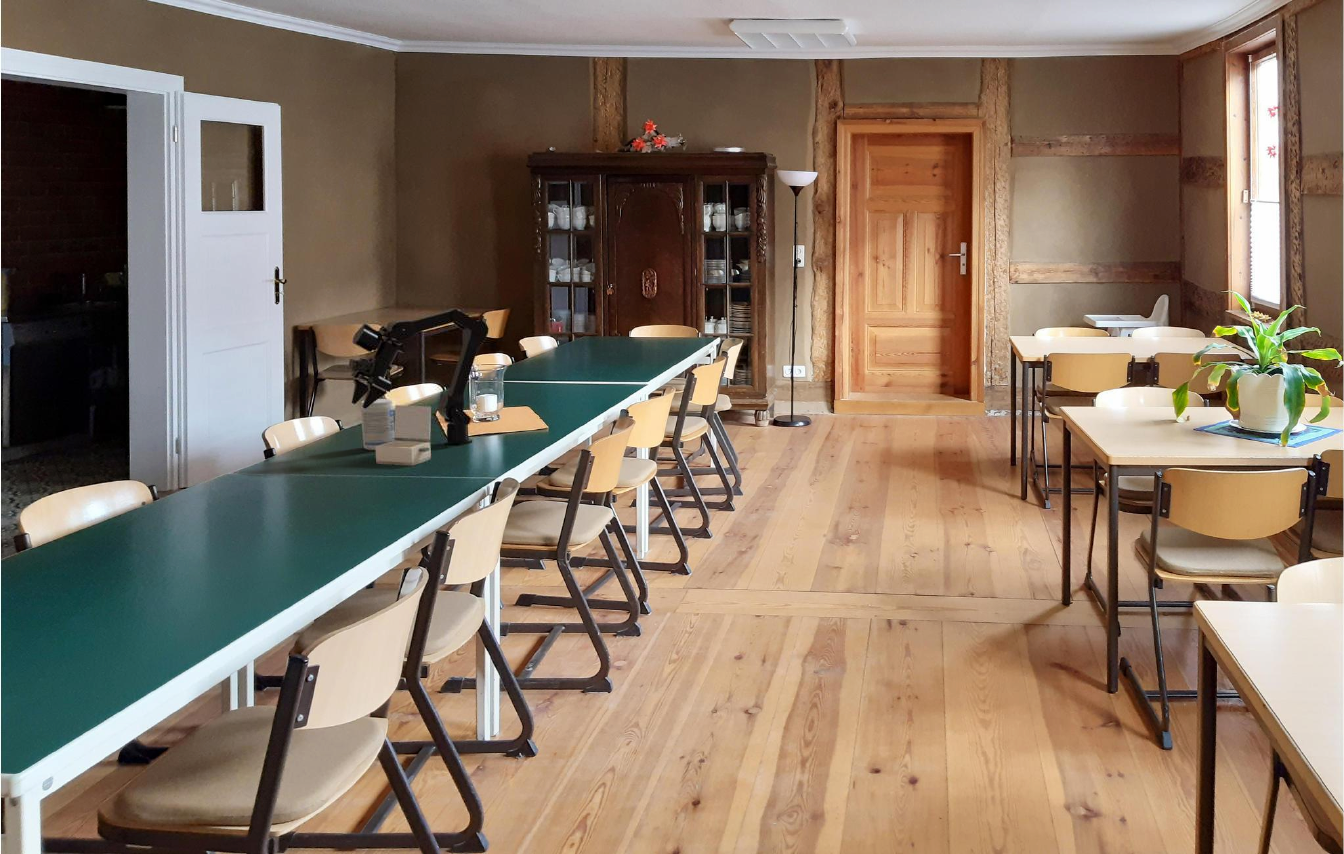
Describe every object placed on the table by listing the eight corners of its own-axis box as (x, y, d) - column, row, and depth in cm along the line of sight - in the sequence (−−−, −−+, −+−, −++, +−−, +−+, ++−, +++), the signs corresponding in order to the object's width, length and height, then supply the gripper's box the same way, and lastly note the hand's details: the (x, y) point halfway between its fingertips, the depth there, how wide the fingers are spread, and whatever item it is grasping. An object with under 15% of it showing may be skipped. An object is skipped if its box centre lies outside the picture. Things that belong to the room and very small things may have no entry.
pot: (389, 456, 369) (388, 440, 369) (436, 459, 364) (436, 442, 363) (370, 463, 360) (369, 446, 359) (418, 466, 355) (417, 448, 354)
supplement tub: (400, 448, 383) (397, 401, 380) (370, 452, 378) (367, 404, 375) (388, 444, 391) (385, 397, 388) (358, 447, 386) (356, 400, 383)
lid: (394, 439, 367) (397, 439, 369) (428, 441, 363) (432, 441, 365) (394, 405, 367) (398, 405, 369) (429, 406, 363) (433, 406, 365)
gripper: (348, 343, 377) (324, 389, 375) (371, 350, 361) (346, 398, 359) (379, 360, 383) (356, 405, 381) (403, 367, 368) (378, 414, 366)
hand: (358, 405), depth 372 cm, fingers open, 9 cm apart
